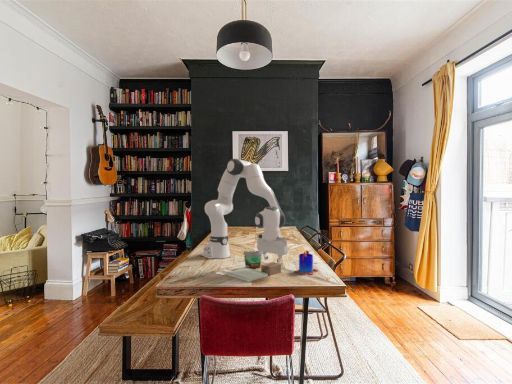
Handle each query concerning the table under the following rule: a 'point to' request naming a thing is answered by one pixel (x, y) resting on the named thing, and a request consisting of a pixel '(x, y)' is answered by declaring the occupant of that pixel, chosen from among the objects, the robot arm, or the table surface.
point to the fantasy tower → (306, 264)
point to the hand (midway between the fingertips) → (272, 260)
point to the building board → (247, 274)
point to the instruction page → (223, 272)
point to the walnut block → (271, 268)
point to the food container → (253, 259)
